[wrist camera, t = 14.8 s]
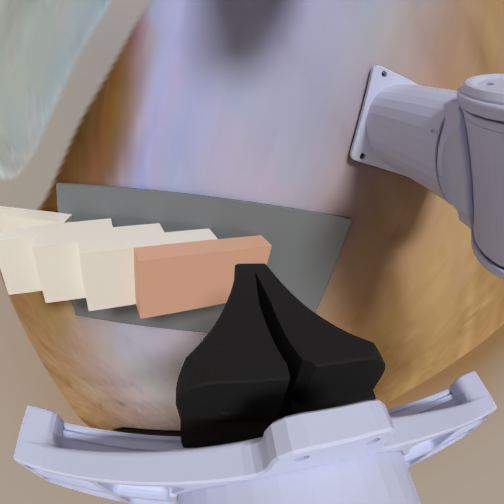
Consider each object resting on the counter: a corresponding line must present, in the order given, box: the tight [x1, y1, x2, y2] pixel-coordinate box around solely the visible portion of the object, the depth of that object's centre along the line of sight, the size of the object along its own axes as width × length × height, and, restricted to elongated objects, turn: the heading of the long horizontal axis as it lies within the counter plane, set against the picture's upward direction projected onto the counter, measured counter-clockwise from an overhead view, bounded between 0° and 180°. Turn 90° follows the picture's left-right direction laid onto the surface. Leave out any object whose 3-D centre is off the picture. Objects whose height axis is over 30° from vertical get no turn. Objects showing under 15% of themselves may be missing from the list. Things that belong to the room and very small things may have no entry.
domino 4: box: [79, 228, 218, 311], centre depth 21 cm, size 2×5×10 cm
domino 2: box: [0, 218, 113, 295], centre depth 19 cm, size 2×5×10 cm
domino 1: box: [0, 206, 73, 231], centre depth 20 cm, size 2×5×10 cm
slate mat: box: [56, 183, 352, 332], centre depth 25 cm, size 24×14×1 cm, turn 79°
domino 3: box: [32, 223, 164, 303], centre depth 20 cm, size 2×5×10 cm
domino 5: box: [134, 235, 272, 319], centre depth 21 cm, size 2×5×10 cm
